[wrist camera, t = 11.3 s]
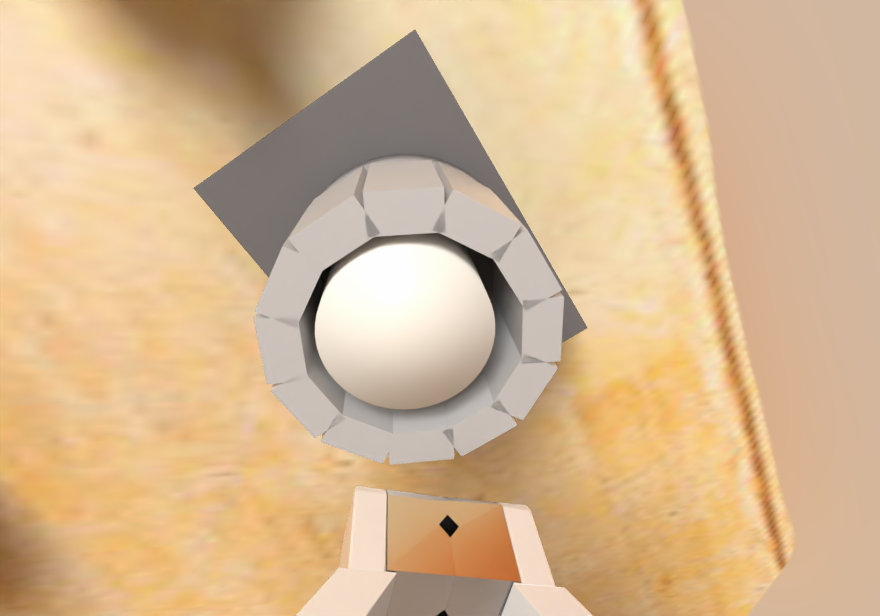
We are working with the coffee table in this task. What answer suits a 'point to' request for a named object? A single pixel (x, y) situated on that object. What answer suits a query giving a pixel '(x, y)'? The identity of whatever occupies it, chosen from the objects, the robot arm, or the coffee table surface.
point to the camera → (386, 214)
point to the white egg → (405, 321)
